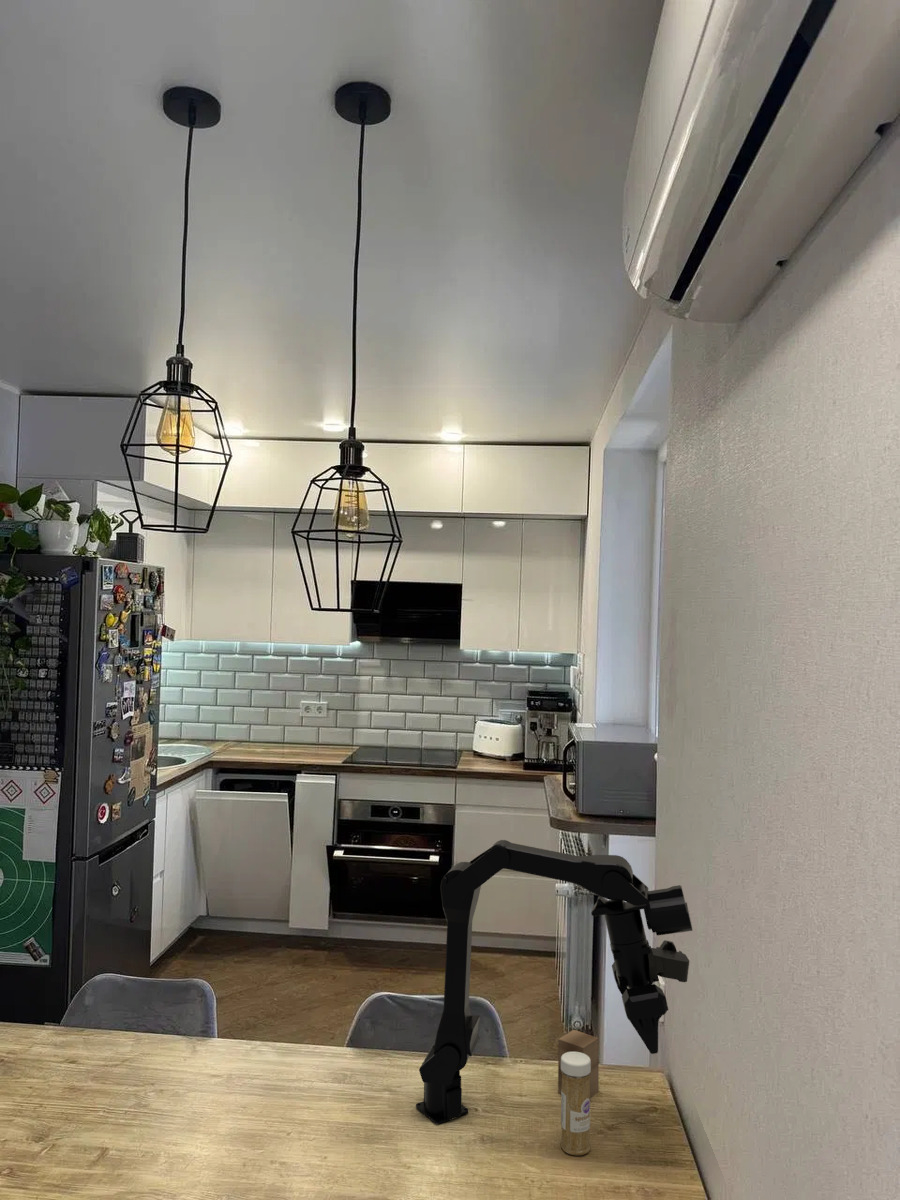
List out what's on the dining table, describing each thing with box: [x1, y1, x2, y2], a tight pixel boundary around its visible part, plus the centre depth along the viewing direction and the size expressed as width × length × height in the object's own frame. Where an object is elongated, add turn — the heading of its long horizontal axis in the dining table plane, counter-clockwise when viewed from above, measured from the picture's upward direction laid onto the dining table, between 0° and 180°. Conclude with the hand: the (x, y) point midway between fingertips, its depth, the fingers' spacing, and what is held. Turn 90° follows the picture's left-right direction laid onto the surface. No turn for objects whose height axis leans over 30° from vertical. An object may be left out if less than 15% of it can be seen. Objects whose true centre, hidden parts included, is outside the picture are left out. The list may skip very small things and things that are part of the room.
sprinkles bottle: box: [560, 1052, 591, 1156], centre depth 129 cm, size 5×5×14 cm
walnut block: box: [557, 1029, 600, 1099], centre depth 146 cm, size 5×5×9 cm
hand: (649, 1040), depth 132 cm, fingers open, 9 cm apart
